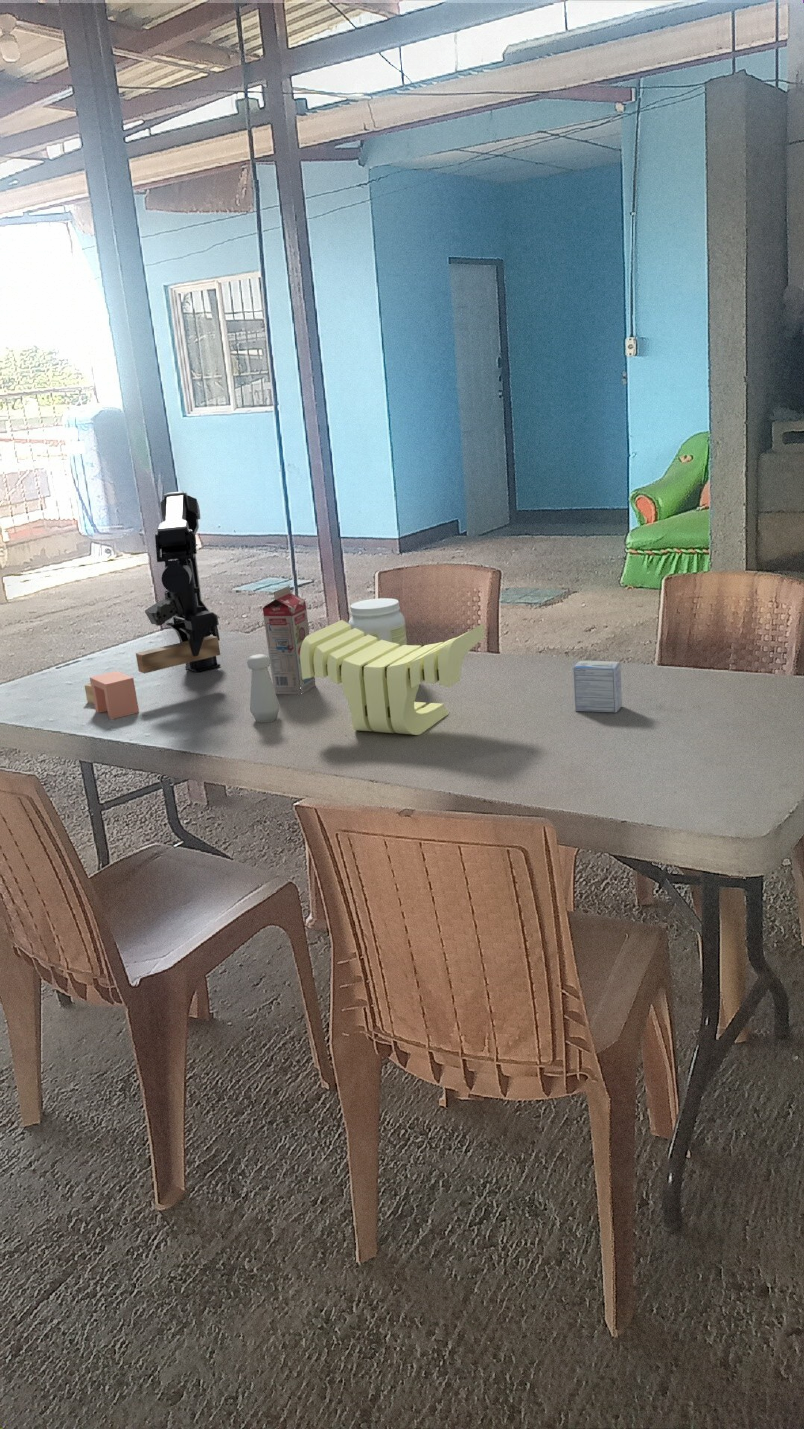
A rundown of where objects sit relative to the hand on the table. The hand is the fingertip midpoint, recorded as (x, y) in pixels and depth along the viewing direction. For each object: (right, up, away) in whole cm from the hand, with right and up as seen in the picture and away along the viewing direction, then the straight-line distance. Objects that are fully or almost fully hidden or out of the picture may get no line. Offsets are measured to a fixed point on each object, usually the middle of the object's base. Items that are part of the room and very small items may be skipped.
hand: (192, 654), depth 235 cm
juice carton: (+23, -8, -4) cm, 24 cm away
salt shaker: (+19, -14, -23) cm, 33 cm away
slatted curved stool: (+45, -15, -34) cm, 58 cm away
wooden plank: (-2, -2, -1) cm, 3 cm away
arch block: (-14, -12, -8) cm, 21 cm away
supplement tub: (+42, -6, -3) cm, 42 cm away
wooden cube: (-21, -10, +2) cm, 23 cm away
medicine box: (+82, -12, -36) cm, 91 cm away
